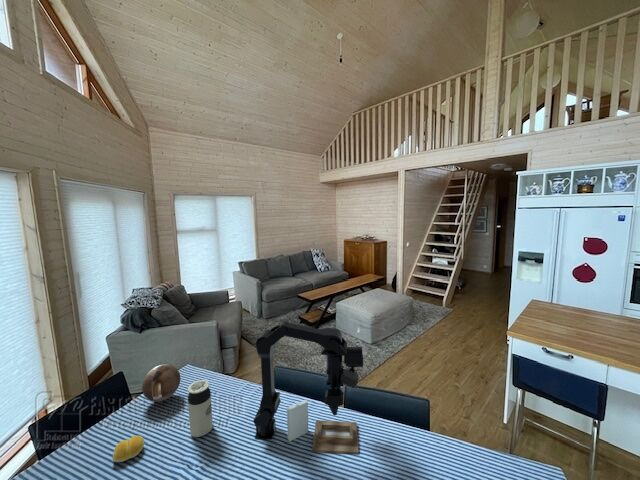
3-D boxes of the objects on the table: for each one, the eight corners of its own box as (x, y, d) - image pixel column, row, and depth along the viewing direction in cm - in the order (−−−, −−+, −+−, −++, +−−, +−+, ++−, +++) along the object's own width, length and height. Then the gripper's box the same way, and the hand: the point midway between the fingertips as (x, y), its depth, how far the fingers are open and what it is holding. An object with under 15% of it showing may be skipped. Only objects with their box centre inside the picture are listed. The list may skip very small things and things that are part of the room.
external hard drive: (308, 432, 100) (308, 401, 98) (289, 442, 96) (288, 410, 94) (306, 429, 101) (306, 399, 100) (287, 438, 97) (286, 407, 96)
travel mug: (185, 434, 100) (182, 390, 98) (202, 419, 107) (199, 377, 106) (201, 440, 97) (198, 395, 95) (217, 424, 104) (214, 382, 103)
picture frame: (312, 452, 91) (312, 444, 91) (316, 422, 104) (315, 415, 104) (358, 454, 90) (358, 446, 90) (356, 424, 103) (356, 417, 102)
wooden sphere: (159, 386, 129) (156, 357, 127) (188, 387, 127) (186, 358, 126) (135, 408, 114) (132, 376, 112) (167, 410, 112) (164, 377, 111)
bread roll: (144, 453, 91) (142, 443, 91) (112, 467, 87) (110, 457, 86) (145, 436, 98) (144, 426, 98) (115, 448, 94) (114, 438, 93)
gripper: (358, 382, 84) (359, 427, 86) (355, 352, 103) (356, 389, 104) (324, 381, 85) (325, 425, 87) (327, 351, 104) (328, 388, 105)
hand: (335, 405), depth 96 cm, fingers open, 9 cm apart
